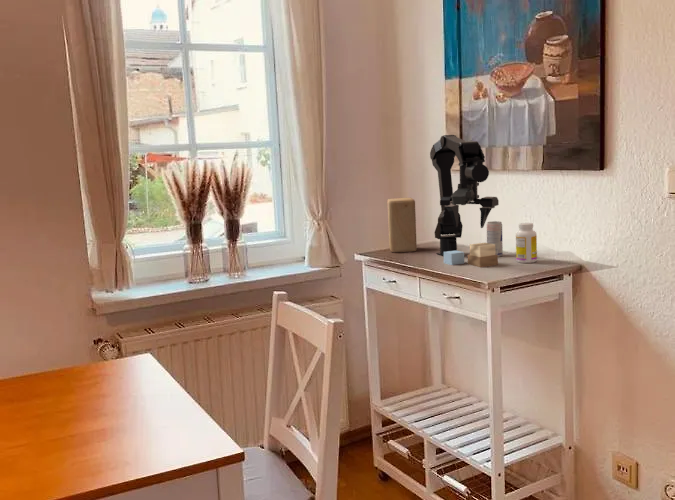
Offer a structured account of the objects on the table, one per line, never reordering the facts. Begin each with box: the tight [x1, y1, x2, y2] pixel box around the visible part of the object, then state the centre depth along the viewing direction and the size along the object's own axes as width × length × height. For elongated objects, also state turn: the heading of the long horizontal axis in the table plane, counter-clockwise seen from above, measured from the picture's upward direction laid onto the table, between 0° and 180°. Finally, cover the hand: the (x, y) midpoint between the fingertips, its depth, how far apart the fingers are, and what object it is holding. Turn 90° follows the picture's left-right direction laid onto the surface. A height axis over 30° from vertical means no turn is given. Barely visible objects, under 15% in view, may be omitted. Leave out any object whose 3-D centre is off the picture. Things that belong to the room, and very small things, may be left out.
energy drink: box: [486, 220, 504, 258], centre depth 241 cm, size 5×5×12 cm
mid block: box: [469, 242, 496, 257], centre depth 227 cm, size 6×6×4 cm
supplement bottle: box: [515, 222, 538, 264], centre depth 227 cm, size 7×7×13 cm
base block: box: [467, 254, 499, 268], centre depth 227 cm, size 7×7×4 cm
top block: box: [443, 250, 465, 266], centre depth 232 cm, size 5×5×4 cm
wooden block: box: [386, 197, 418, 253], centre depth 263 cm, size 10×10×20 cm
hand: (469, 227), depth 227 cm, fingers open, 9 cm apart
